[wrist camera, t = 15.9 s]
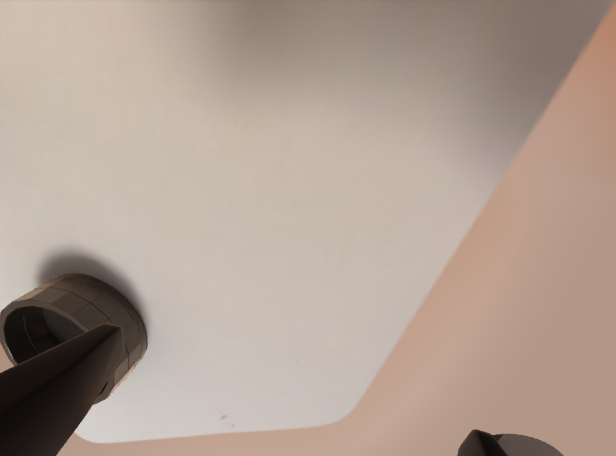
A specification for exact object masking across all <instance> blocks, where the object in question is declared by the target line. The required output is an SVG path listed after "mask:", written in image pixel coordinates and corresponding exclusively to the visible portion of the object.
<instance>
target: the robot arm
mask: <svg viewBox="0 0 616 456" xmlns="http://www.w3.org/2000/svg"><path fill="white" fill-rule="evenodd" d="M123 352H124V338H123V329H122V327H120V326H117V325H114V324H111V323H104V324H101V325H99V326H97V327H95V328H93V329H91V330H89V331H87V332H85V333H83V334H81V335H78V336H76V337H74V338H72V339H70V340H68V341H66V342H64V343H62V344H60V345H58V346H56V347H54V348H51V349H49V350H47V351H45V352H43V353H41V354H39V355H37V356H35V357H33V358H31V359H29V360H26V361H24V362H22V363H20V364H18V365H16V366H14V367H12V368H10V369H8V370H6V371H4V372H2V373H0V456H56V455H57V454H58V452H59V451H60V450H61V448H62V447H63V445H64V444H65V443H66V441H67V440H68V439H69V437H70V436H71V435H72V433H73V432H74V431H75V430H76V428H77V427H78V426H79V424H80V423H81V421H82V420H83V419H84V417H85V416H86V414H87V413H88V411H89V410H90V408H91V406H92V405H93V403H94V402H95V400H96V398H97V397H98V395H99V393H100V392H101V390H102V388H103V387H104V385H105V384H106V382H107V380H108V379H109V377H110V375H111V374H112V372H113V371H114V369H115V367H116V366H117V364H118V362H119V361H120V359H121V357H122V355H123ZM458 456H508V455H507V454H506V452H505V451H504V450H503V448H502V447H501V446H500V444H499V443H498V442H497V440H496V439H495V438H494V437H493V436H492V435H491V434H489V433H486V432H483V431H480V430H472V431H471V432H470V434H469V435H468V436H467V438H466V439H465V441H464V442H463V443H462V444H461V446H460V448H459V450H458Z"/></svg>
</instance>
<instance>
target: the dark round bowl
mask: <svg viewBox="0 0 616 456" xmlns="http://www.w3.org/2000/svg"><path fill="white" fill-rule="evenodd" d="M104 323H111V324H114V325H117V326H120V327H122V329H123V338H124V352H123V355H122V357H121V359H120V361H119V362H118V364H117V366H116V367H115V369H114V371H113V372H112V374H111V375H110V377H109V379H108V380H107V382H106V384H105V385H104V387H103V388H102V390H101V392H100V393H99V395H98V397H97V398H96V400H95V402H94V403H93V405H94V404H97V403H99V402H101V401H103V400H105V399H107V398H108V397H109V396H110V395H111V393H112V392H113V391H114V390H115V389H116V388H117V387H118V386H119V385H120V383H121V382H122V381H123V380H124V379H125V378H126V377H127V376H128V375H129V373H130V372H131V371H132V370H133V369H134V368H135V366H136V365H137V363H138V362H139V361H140V360H141V359H142V357H143V355H144V353H145V350H146V345H147V337H146V331H145V328H144V325H143V323H142V320H141V318H140V317H139V315H138V313H137V311H136V310H135V309H134V307H133V306H132V305H131V304H130V302H129V301H128V300H127V299H126V298H125V297H124V296H123V295H122V294H121V293H119V292H118V291H117V290H116V289H115V288H113V287H112V286H110V285H109V284H107V283H105V282H103V281H101V280H99V279H97V278H94V277H91V276H88V275H84V274H74V273H72V274H64V275H61V276H58V277H56V278H54V279H51V280H49V281H48V282H46V283H44V284H42V285H41V286H39V287H37V288H35V289H34V290H32V291H30V292H28V293H27V294H25V295H23V296H21V297H20V298H18V299H16V300H14V301H13V302H11V303H10V304H9V305H8V306H7V307H5V308H4V309H3V310H2V311H1V313H0V342H1V345H2V346H3V348H4V351H5V352H6V354H7V356H8V358H9V360H10V361H11V362H12V364H13V365H14V366H16V365H18V364H20V363H22V362H24V361H26V360H29V359H31V358H33V357H35V356H37V355H39V354H41V353H43V352H45V351H47V350H49V349H51V348H54V347H56V346H58V345H60V344H62V343H64V342H66V341H68V340H70V339H72V338H74V337H76V336H78V335H81V334H83V333H85V332H87V331H89V330H91V329H93V328H95V327H97V326H99V325H101V324H104Z"/></svg>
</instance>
